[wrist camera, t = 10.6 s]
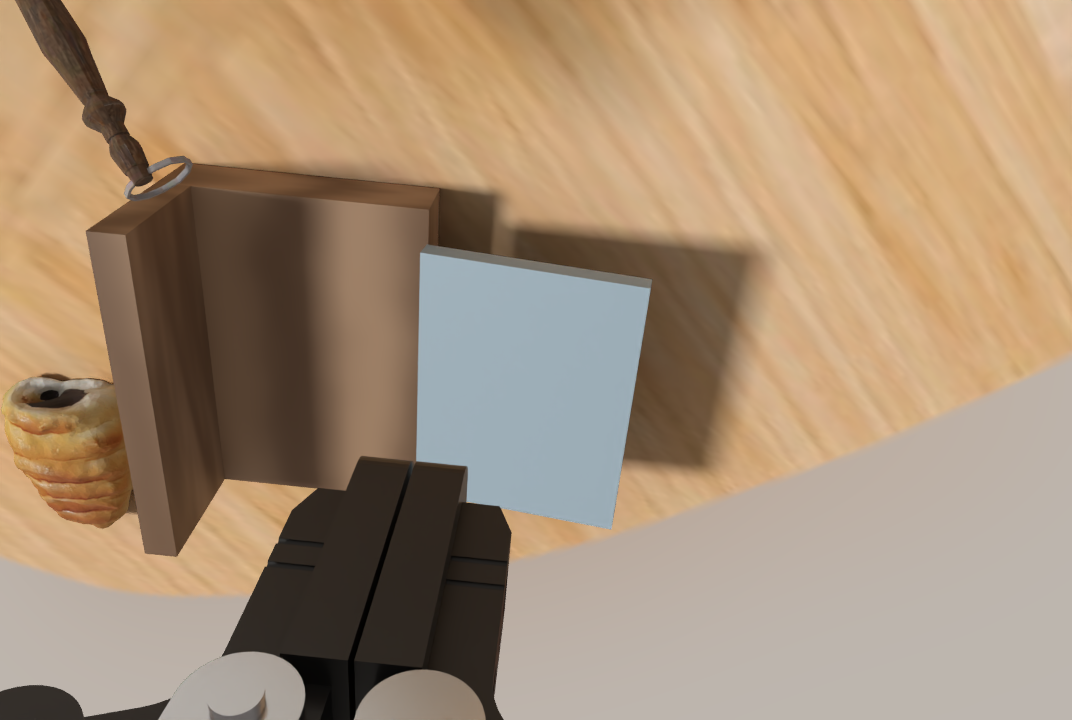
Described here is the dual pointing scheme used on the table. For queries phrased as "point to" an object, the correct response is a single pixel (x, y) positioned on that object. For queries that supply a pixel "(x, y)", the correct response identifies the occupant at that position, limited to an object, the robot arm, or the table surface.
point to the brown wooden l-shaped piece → (260, 333)
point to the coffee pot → (93, 92)
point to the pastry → (71, 446)
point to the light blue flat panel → (528, 379)
